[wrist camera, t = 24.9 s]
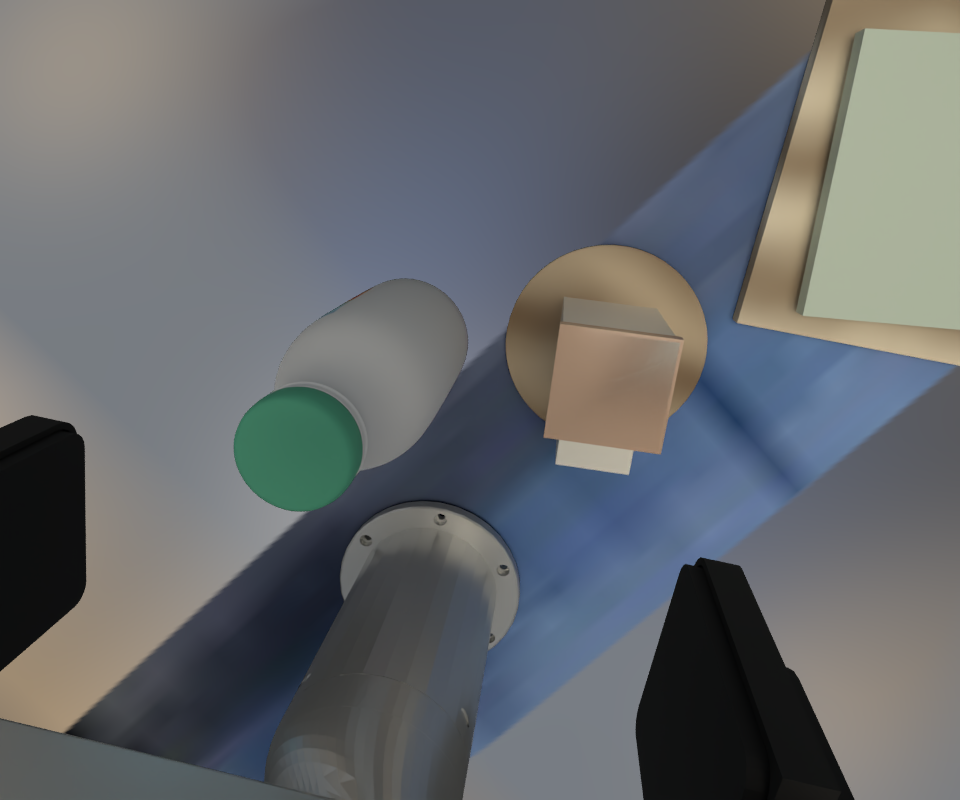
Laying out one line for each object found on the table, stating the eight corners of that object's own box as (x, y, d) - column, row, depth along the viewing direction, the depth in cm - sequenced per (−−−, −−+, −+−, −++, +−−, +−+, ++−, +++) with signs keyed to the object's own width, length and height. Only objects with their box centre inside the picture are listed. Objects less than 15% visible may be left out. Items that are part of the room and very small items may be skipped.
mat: (676, 453, 44) (677, 457, 44) (491, 415, 45) (490, 418, 44) (730, 265, 40) (732, 266, 40) (526, 227, 41) (526, 228, 41)
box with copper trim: (660, 306, 41) (683, 340, 32) (635, 437, 44) (651, 500, 35) (561, 293, 41) (560, 323, 33) (542, 424, 44) (536, 482, 36)
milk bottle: (425, 252, 42) (310, 312, 23) (493, 358, 44) (436, 495, 25) (326, 317, 44) (147, 422, 25) (394, 417, 46) (272, 585, 27)
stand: (1044, 378, 40) (1063, 386, 39) (732, 319, 41) (738, 324, 40) (1199, 36, 34) (1228, 29, 33) (832, -23, 36) (844, -32, 34)
